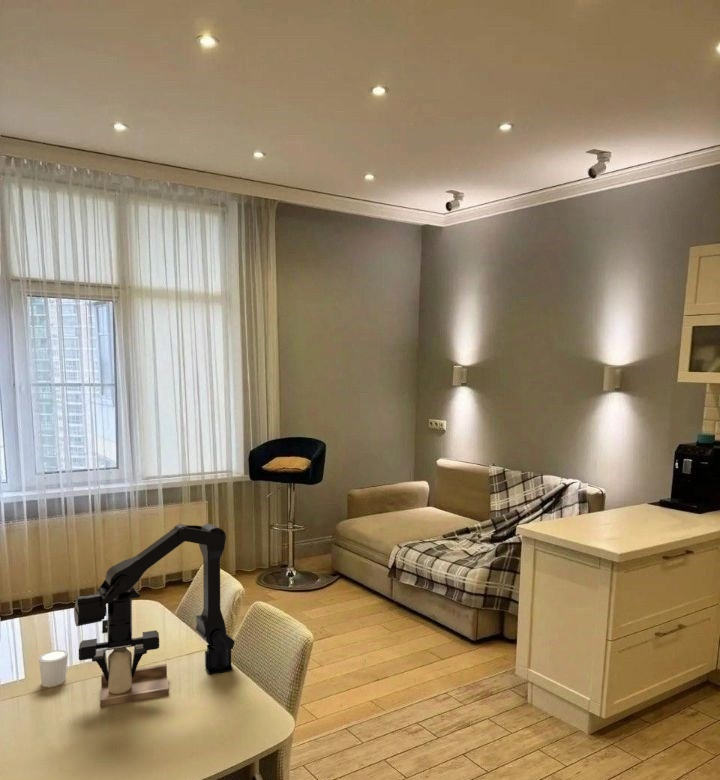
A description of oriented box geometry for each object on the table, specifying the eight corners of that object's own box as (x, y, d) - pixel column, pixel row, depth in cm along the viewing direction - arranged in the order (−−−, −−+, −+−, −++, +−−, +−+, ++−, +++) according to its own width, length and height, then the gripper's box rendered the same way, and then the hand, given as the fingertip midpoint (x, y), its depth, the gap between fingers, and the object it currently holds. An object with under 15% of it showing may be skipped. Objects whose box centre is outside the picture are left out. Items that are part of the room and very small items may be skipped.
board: (166, 678, 162) (166, 663, 162) (168, 694, 154) (168, 679, 154) (101, 689, 157) (101, 674, 157) (100, 706, 148) (100, 690, 148)
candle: (123, 695, 150) (123, 655, 150) (103, 693, 151) (103, 653, 151) (136, 684, 156) (136, 645, 156) (116, 682, 157) (116, 643, 157)
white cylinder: (38, 690, 156) (38, 663, 156) (39, 678, 162) (38, 652, 162) (68, 684, 159) (68, 657, 159) (67, 673, 165) (67, 647, 165)
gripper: (157, 601, 164) (157, 658, 164) (81, 610, 158) (81, 670, 158) (159, 616, 154) (159, 677, 154) (78, 626, 147) (78, 690, 147)
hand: (120, 678), depth 154 cm, fingers closed on candle, 5 cm apart
